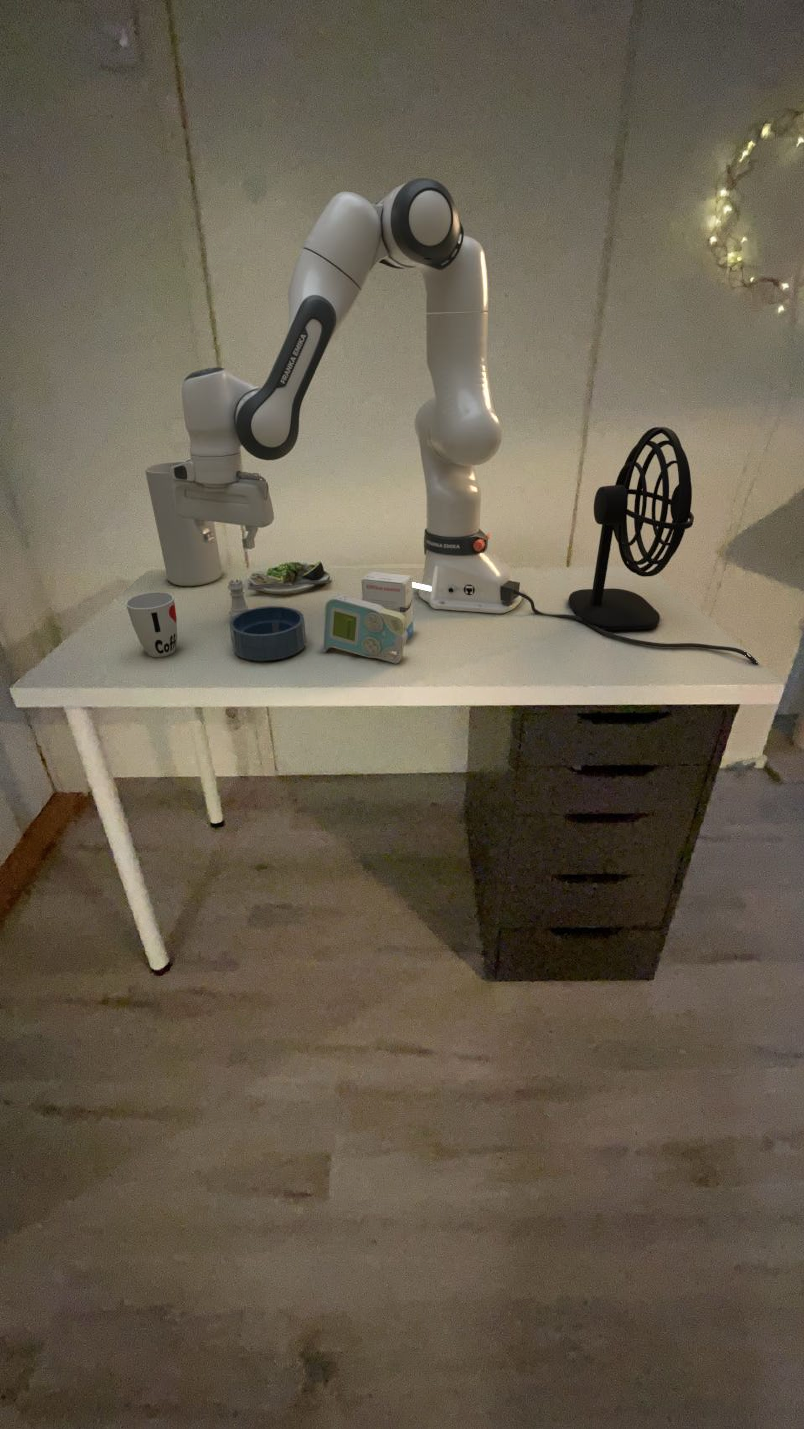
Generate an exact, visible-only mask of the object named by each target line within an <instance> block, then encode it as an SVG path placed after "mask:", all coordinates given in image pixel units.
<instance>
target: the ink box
mask: <svg viewBox="0 0 804 1429" xmlns="http://www.w3.org/2000/svg"><path fill="white" fill-rule="evenodd" d="M412 582H413V575H407V574H399V573H389V572H388V573H387V572H381V571H370V572H368V574H366V575H365V576H364V577H363V578H362V579H361V596H362V600H363V601H367V602H371V603H375V604H378V605H381V606H382V607H384V608H385V609H389V610H392V611H396V612H399V613H401V614H403V615H404V616H405V618H406V620H407V627H406V631H407V633H408V634H407V641H408V640H410V638H411V637H412V635H413V634H414V610H413V609H414V608H413V606H414V604H413V603H414V602H413V598H414V597H413V587H412Z"/></svg>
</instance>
